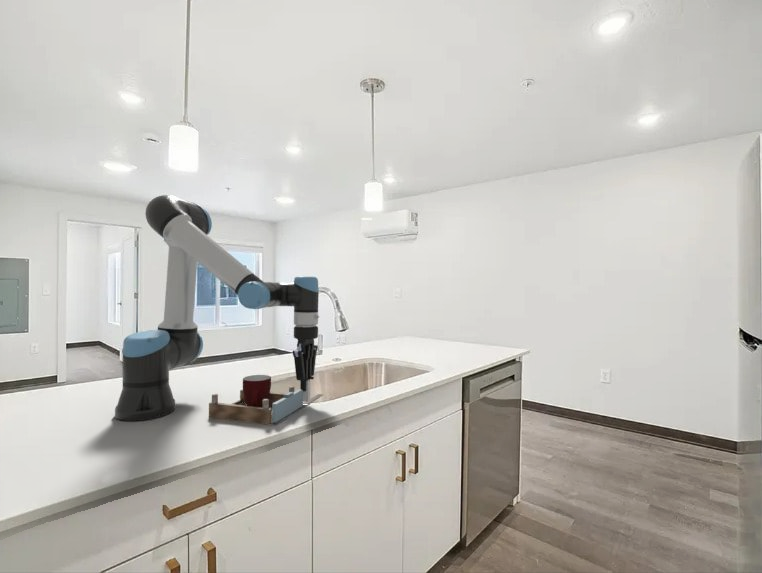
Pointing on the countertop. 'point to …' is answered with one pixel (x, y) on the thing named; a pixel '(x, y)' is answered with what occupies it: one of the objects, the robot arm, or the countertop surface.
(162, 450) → the countertop surface
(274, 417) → the gate
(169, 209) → the robot arm
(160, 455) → the countertop surface
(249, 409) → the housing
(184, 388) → the countertop surface
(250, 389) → the mug
